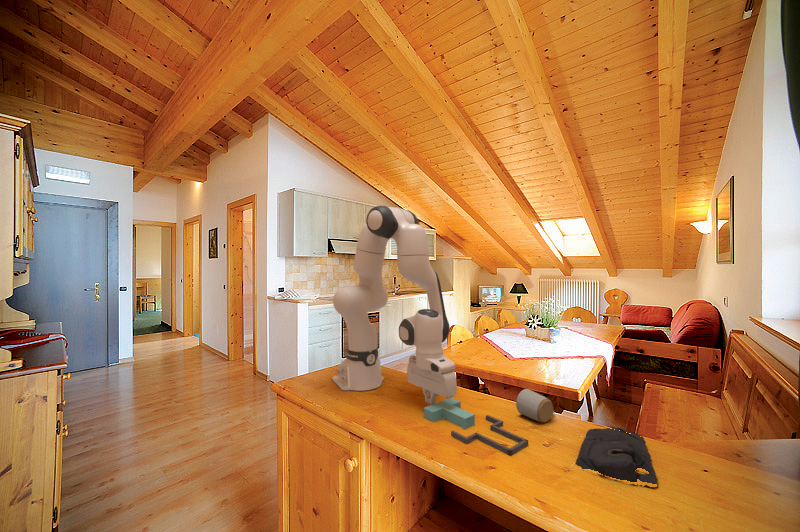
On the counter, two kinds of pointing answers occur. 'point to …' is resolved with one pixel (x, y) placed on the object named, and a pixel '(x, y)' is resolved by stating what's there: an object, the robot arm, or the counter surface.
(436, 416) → the teal T block
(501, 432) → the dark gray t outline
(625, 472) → the dark slate chunk
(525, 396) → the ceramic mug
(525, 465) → the counter surface
